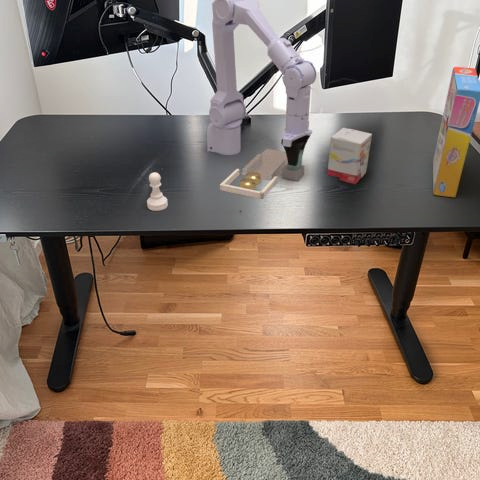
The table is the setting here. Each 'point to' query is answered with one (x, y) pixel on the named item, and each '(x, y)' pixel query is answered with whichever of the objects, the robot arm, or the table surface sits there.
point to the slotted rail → (267, 164)
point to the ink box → (349, 155)
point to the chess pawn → (156, 194)
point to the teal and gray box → (294, 170)
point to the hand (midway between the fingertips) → (294, 162)
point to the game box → (455, 130)
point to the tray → (242, 191)
